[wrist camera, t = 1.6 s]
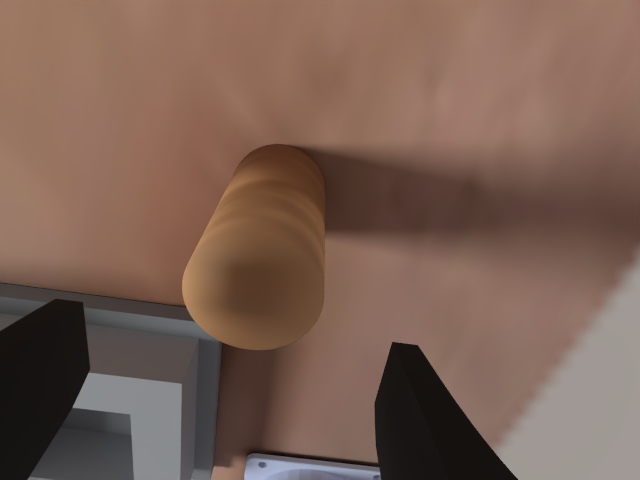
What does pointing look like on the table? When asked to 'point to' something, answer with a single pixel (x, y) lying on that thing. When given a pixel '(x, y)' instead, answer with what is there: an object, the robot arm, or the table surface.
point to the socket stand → (133, 392)
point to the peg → (262, 253)
